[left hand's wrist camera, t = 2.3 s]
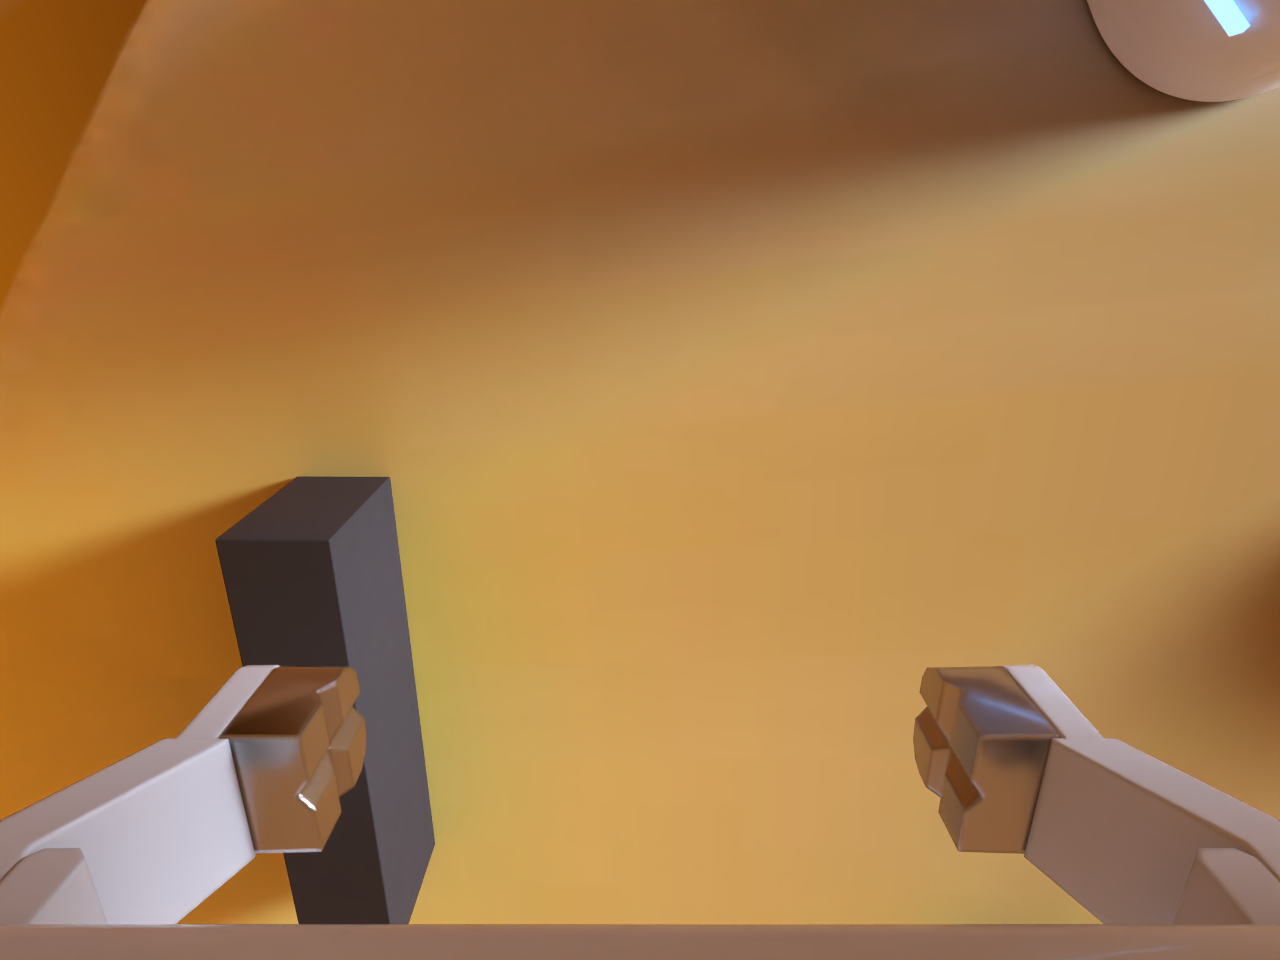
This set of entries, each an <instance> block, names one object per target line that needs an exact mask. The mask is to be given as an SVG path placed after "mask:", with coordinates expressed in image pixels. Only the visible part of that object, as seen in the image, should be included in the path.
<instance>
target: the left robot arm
mask: <svg viewBox="0 0 1280 960" xmlns="http://www.w3.org/2000/svg"><path fill="white" fill-rule="evenodd" d="M1087 3H1088V5H1089V8H1090V11H1091V13H1092V16H1093V18H1094V21H1095V23H1096V26H1097V28H1098V30H1099V32H1100V34H1101V36H1102V38H1103V39H1104V41H1105V43H1106V44H1107V46H1108V47H1109V49H1110V50H1111V52H1112V53H1113V54H1114V56H1115V57H1116V58H1117V59H1118V60H1119V62H1120V63H1121V64H1122V65H1123V66H1124V67H1125V68H1126V69H1127V70H1128V71H1129V72H1130V73H1132V74H1133V75H1134V76H1136V77H1137V78H1138V79H1139V80H1141V81H1142V82H1144V83H1145V84H1147V85H1149V86H1151V87H1152V88H1154V89H1156V90H1158V91H1161V92H1163V93H1165V94H1168V95H1171V96H1174V97H1178V98H1182V99H1186V100H1192V101H1200V102H1224V101H1232V100H1238V99H1244V98H1248V97H1252V96H1256V95H1259V94H1262V93H1265V92H1268V91H1271V90H1273V89H1276V88H1278V87H1280V0H1087ZM359 694H360V688H359V683H358V678H357V672H355V671H354V670H353V669H352V668H351V667H345V666H297V665H282V666H279V665H247V666H244V667H240V668H238V669H237V670H236V672H235V673H234V674H233V675H232V676H231V677H230V678H229V679H228V681H227V682H226V683H225V684H224V685H223V686H222V687H221V688H220V690H219V691H218V692H217V693H216V694H215V695H214V696H213V697H212V698H211V700H210V701H209V702H208V703H207V704H206V705H205V706H204V707H203V709H202V710H201V711H200V712H199V713H198V714H197V715H196V716H195V718H194V719H193V720H192V721H191V722H190V723H189V724H188V725H187V726H186V728H185V729H184V730H183V731H182V732H181V733H180V734H179V735H178V737H177V738H176V739H162V740H160V741H158V742H156V743H154V744H152V745H150V746H148V747H146V748H144V749H142V750H140V751H138V752H136V753H134V754H132V755H130V756H128V757H126V758H124V759H122V760H120V761H118V762H116V763H114V764H112V765H110V766H108V767H106V768H104V769H102V770H100V771H98V772H96V773H94V774H92V775H90V776H88V777H86V778H84V779H82V780H80V781H78V782H76V783H74V784H72V785H70V786H68V787H66V788H64V789H62V790H60V791H58V792H56V793H54V794H52V795H50V796H48V797H46V798H44V799H42V800H40V801H38V802H36V803H34V804H32V805H30V806H28V807H26V808H24V809H22V810H20V811H18V812H16V813H14V814H12V815H10V816H8V817H6V818H4V819H2V820H0V960H1280V821H1279V820H1277V819H1275V818H1273V817H1271V816H1269V815H1267V814H1265V813H1263V812H1261V811H1259V810H1257V809H1255V808H1253V807H1251V806H1249V805H1247V804H1245V803H1243V802H1241V801H1239V800H1237V799H1235V798H1233V797H1231V796H1229V795H1227V794H1225V793H1223V792H1221V791H1219V790H1217V789H1215V788H1213V787H1211V786H1209V785H1207V784H1205V783H1203V782H1201V781H1199V780H1197V779H1195V778H1193V777H1191V776H1189V775H1188V774H1186V773H1184V772H1182V771H1180V770H1178V769H1176V768H1174V767H1172V766H1170V765H1168V764H1166V763H1164V762H1162V761H1160V760H1158V759H1156V758H1154V757H1152V756H1150V755H1148V754H1146V753H1144V752H1142V751H1140V750H1138V749H1136V748H1134V747H1132V746H1130V745H1128V744H1126V743H1124V742H1122V741H1120V740H1118V739H1104V738H1103V737H1102V735H1101V734H1100V733H1099V732H1098V731H1097V730H1096V729H1095V728H1094V727H1093V725H1092V724H1091V723H1090V722H1089V721H1088V720H1087V719H1086V718H1085V716H1084V715H1083V714H1082V713H1081V712H1080V711H1079V710H1078V709H1077V707H1076V706H1075V705H1074V704H1073V703H1072V702H1071V701H1070V700H1069V699H1068V697H1067V696H1066V695H1065V694H1064V693H1063V692H1062V691H1061V690H1060V688H1059V687H1058V686H1057V685H1056V684H1055V683H1054V682H1053V681H1052V679H1051V678H1050V677H1049V676H1048V675H1047V674H1046V673H1045V672H1044V670H1043V669H1041V668H1039V667H1037V666H1035V665H1005V666H993V667H933V668H926V670H925V672H924V674H923V676H922V681H921V687H920V694H921V696H922V697H923V699H924V701H925V703H926V704H927V707H926V708H925V709H924V710H923V711H922V712H921V713H920V714H919V715H918V716H917V717H916V719H915V727H914V736H913V742H914V753H915V760H916V763H917V767H918V770H919V773H920V776H921V778H922V780H923V782H924V784H925V786H926V787H927V788H928V789H929V790H931V791H932V792H934V793H935V794H937V795H938V796H939V797H941V800H940V806H939V814H940V816H941V818H942V820H943V822H944V824H945V826H946V828H947V830H948V832H949V834H950V836H951V838H952V840H953V842H954V844H955V846H956V848H957V850H958V852H987V853H1022V854H1025V855H1024V857H1025V858H1026V859H1028V860H1029V861H1030V862H1031V863H1032V864H1033V865H1035V866H1036V867H1037V868H1038V869H1039V870H1041V871H1042V872H1043V873H1044V874H1045V875H1047V876H1048V877H1049V878H1050V879H1051V880H1052V881H1054V882H1055V883H1056V884H1057V885H1058V886H1060V887H1061V888H1062V889H1063V890H1064V891H1066V892H1067V893H1068V894H1069V895H1070V896H1072V897H1073V898H1074V899H1075V900H1076V901H1077V902H1079V903H1080V904H1081V905H1082V906H1083V907H1085V908H1086V909H1087V910H1088V911H1089V912H1091V913H1092V914H1093V915H1094V916H1095V917H1096V918H1098V919H1099V920H1100V921H1101V922H1102V923H1104V924H883V925H882V924H881V925H669V924H238V925H220V924H177V923H178V922H179V921H180V920H181V919H183V918H184V917H185V916H186V915H187V914H188V913H190V912H191V911H192V910H193V909H194V908H196V907H197V906H198V905H199V904H200V903H202V902H203V901H204V900H205V899H206V898H208V897H209V896H210V895H211V894H212V893H214V892H215V891H216V890H217V889H218V888H219V887H221V886H222V885H223V884H224V883H225V882H227V881H228V880H229V879H230V878H231V877H233V876H234V875H235V874H236V873H237V872H239V871H240V870H241V869H242V868H243V867H244V866H246V865H247V864H248V863H249V862H250V861H252V860H253V859H254V858H255V857H256V855H255V854H257V853H292V852H322V850H323V848H324V846H325V844H326V842H327V840H328V838H329V836H330V834H331V832H332V830H333V828H334V826H335V824H336V822H337V820H338V818H339V816H340V814H341V806H340V800H339V797H341V796H342V795H343V794H345V793H346V792H348V791H349V790H351V789H352V788H353V787H354V786H355V784H356V782H357V780H358V778H359V775H360V773H361V771H362V767H363V762H364V758H365V753H366V737H367V733H366V726H365V719H364V717H363V716H362V715H361V714H360V713H359V712H358V711H357V710H356V709H355V708H354V707H353V704H354V703H355V701H356V699H357V697H358V696H359Z"/></svg>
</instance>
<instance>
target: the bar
mask: <svg viewBox="0 0 1280 960" xmlns="http://www.w3.org/2000/svg"><path fill="white" fill-rule="evenodd" d="M216 546H217V550H218V555H219V560H220V564H221V569H222V573H223V578H224V583H225V587H226V592H227V596H228V601H229V605H230V610H231V615H232V619H233V624H234V628H235V633H236V638H237V642H238V647H239V651H240V656H241V661H242V665H243V667H244V666H247V665H279V666H282V665H297V666H345V667H351V668H352V669H353V670H354V671H355V672H357V678H358V683H359V688H360V694H359V696H358V697H357V699H356V701H355V703H354V704H353V707H354V708H355V709H356V710H357V711H358V712H359V713H360V714H361V715H362V716H363V717H364V719H365V726H366V733H367V737H366V753H365V758H364V762H363V767H362V771H361V773H360V775H359V778H358V780H357V782H356V784H355V786H354V787H353V788H352V789H351V790H349V791H348V792H346V793H345V794H343V795H342V796H341V797H339V800H340V806H341V814H340V816H339V818H338V820H337V822H336V824H335V826H334V828H333V830H332V832H331V834H330V836H329V838H328V840H327V842H326V844H325V846H324V848H323V850H322V852H292V853H283V854H284V858H285V863H286V867H287V872H288V877H289V881H290V886H291V890H292V895H293V900H294V904H295V909H296V913H297V918H298V923H299V924H409V921H410V918H411V915H412V912H413V909H414V906H415V903H416V900H417V897H418V893H419V890H420V887H421V884H422V881H423V878H424V875H425V872H426V869H427V866H428V863H429V860H430V857H431V854H432V851H433V848H434V845H435V841H434V833H433V825H432V816H431V808H430V800H429V792H428V784H427V776H426V768H425V759H424V751H423V743H422V735H421V727H420V719H419V711H418V702H417V694H416V686H415V678H414V670H413V662H412V654H411V645H410V637H409V629H408V621H407V613H406V605H405V597H404V588H403V580H402V572H401V564H400V556H399V548H398V540H397V531H396V523H395V515H394V507H393V499H392V491H391V483H390V477H296V478H295V479H294V480H292V481H291V482H290V483H288V484H287V485H286V486H285V487H283V488H282V489H281V490H279V491H278V492H277V493H275V494H274V495H273V496H272V497H270V498H269V499H268V500H266V501H265V502H264V503H262V504H261V505H260V506H259V507H257V508H256V509H255V510H253V511H252V512H251V513H249V514H248V515H247V516H245V517H244V518H243V519H242V520H240V521H239V522H238V523H236V524H235V525H234V526H232V527H231V528H230V529H229V530H227V531H226V532H225V533H223V534H222V535H221V536H219V537H218V538H217V539H216Z"/></svg>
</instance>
